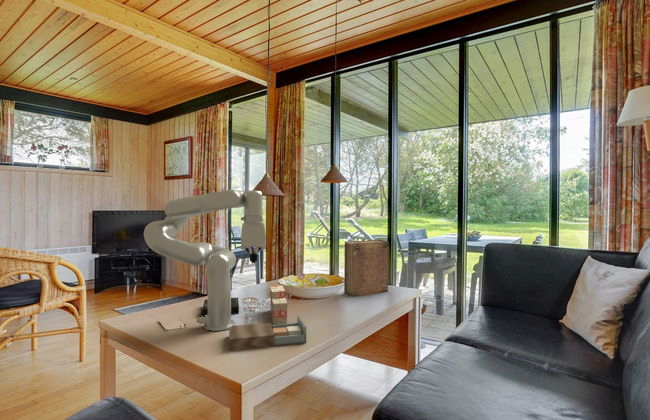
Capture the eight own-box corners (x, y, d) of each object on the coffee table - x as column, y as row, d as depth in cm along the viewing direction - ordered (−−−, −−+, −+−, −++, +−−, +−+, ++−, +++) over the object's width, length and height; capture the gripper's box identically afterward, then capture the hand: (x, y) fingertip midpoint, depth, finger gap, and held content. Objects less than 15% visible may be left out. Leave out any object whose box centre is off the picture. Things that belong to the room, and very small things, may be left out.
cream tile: (301, 329, 138) (301, 337, 138) (298, 325, 143) (298, 333, 143) (288, 331, 137) (288, 338, 137) (286, 326, 142) (286, 334, 142)
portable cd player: (203, 307, 181) (203, 299, 181) (238, 305, 185) (238, 297, 185) (200, 317, 165) (200, 309, 165) (238, 314, 170) (238, 306, 169)
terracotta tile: (273, 340, 135) (273, 332, 135) (273, 335, 140) (273, 328, 140) (286, 339, 136) (286, 331, 136) (285, 334, 141) (285, 327, 141)
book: (352, 296, 201) (352, 243, 200) (344, 293, 209) (344, 241, 209) (388, 291, 213) (388, 241, 213) (378, 288, 221) (379, 239, 221)
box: (274, 345, 131) (274, 329, 131) (270, 332, 145) (270, 317, 145) (306, 342, 134) (306, 326, 134) (299, 329, 148) (299, 315, 148)
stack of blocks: (287, 324, 155) (287, 295, 155) (272, 325, 154) (272, 296, 154) (282, 309, 176) (282, 284, 176) (270, 310, 175) (269, 285, 175)
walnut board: (229, 350, 127) (229, 339, 127) (229, 336, 141) (229, 326, 141) (274, 345, 131) (274, 335, 131) (270, 332, 145) (270, 322, 145)
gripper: (235, 220, 146) (235, 265, 146) (272, 220, 149) (272, 263, 150) (235, 219, 153) (235, 262, 153) (270, 219, 157) (270, 261, 157)
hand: (253, 262), depth 151 cm, fingers closed
